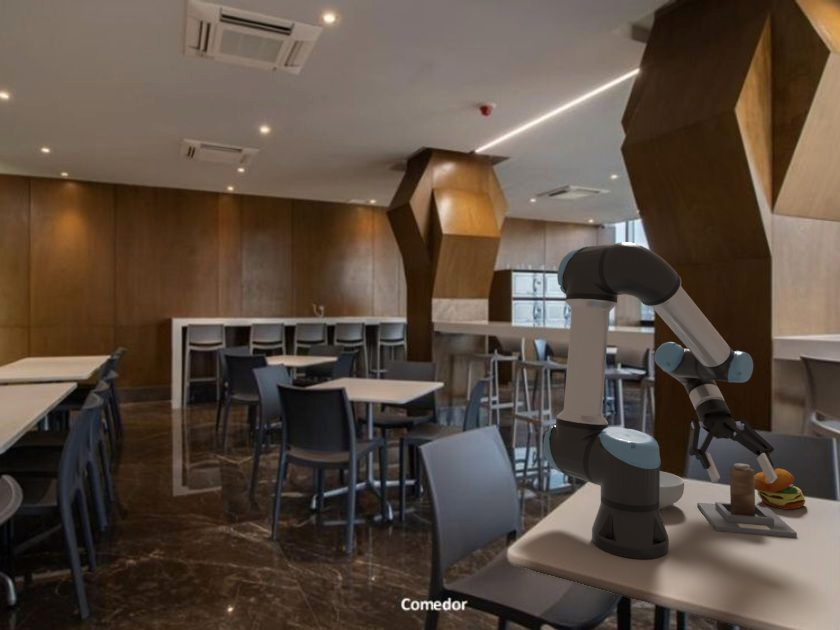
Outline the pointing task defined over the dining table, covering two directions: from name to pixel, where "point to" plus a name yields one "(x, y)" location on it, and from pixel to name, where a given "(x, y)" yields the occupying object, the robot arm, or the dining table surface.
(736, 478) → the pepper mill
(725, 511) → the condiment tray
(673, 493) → the cereal bowl
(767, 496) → the cheeseburger
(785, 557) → the dining table surface
